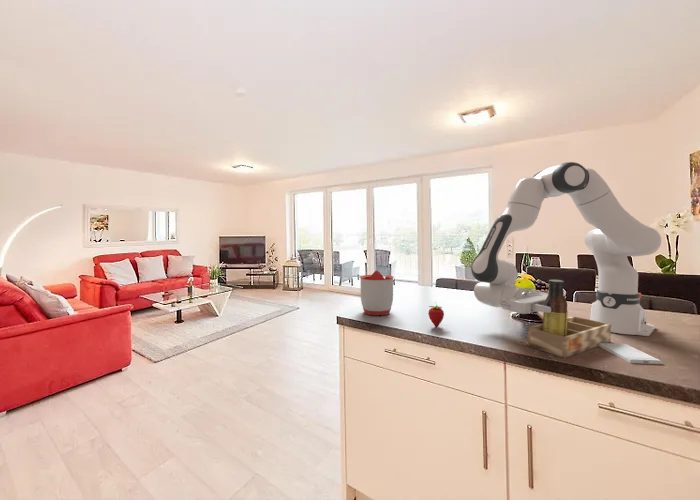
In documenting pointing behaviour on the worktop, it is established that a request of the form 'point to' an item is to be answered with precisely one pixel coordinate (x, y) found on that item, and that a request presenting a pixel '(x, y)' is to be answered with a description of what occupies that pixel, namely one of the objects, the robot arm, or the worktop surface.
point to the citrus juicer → (376, 293)
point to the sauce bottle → (556, 309)
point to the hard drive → (629, 353)
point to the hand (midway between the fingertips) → (558, 308)
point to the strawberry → (436, 315)
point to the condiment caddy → (570, 337)
